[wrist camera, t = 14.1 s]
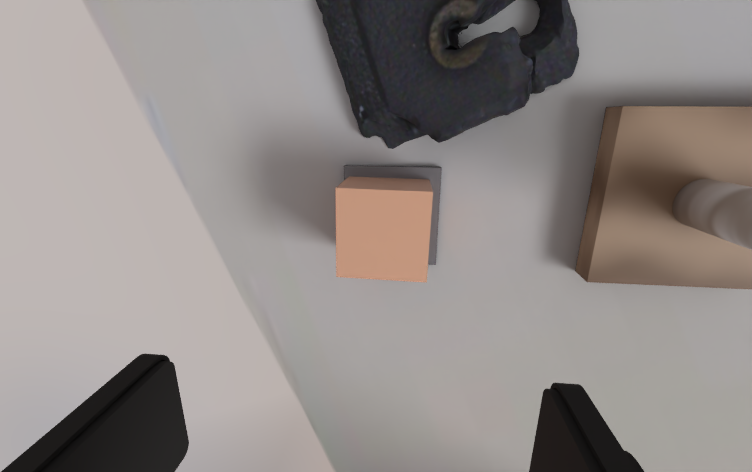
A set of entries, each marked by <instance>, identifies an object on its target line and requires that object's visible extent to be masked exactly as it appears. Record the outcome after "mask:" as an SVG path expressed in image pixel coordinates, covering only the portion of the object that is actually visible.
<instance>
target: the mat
mask: <svg viewBox="0 0 752 472" xmlns="http://www.w3.org/2000/svg"><path fill="white" fill-rule="evenodd" d="M441 170H442V168H441V167H399V166H344V180H345V179H347V178H348V177H349V176H350V177H377V178H404V179H429V180H430V183H431V187H432V190H433V201H432V214H431V228H430V242H429V256H428V264H429V265H436V251H437V235H438V219H439V203H440V186H441Z"/></svg>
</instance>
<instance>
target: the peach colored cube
mask: <svg viewBox="0 0 752 472" xmlns="http://www.w3.org/2000/svg"><path fill="white" fill-rule="evenodd" d="M432 201H433V190H432V187H431V183H430V180H429V179H404V178H377V177H350V176H349V177H348V178H347V179H345V180H344V181H343V182H342V183H341V184H340V185H338V186H337V187H336V277H347V278H364V279H380V280H396V281H413V282H427V270H428V256H429V242H430V228H431V214H432Z"/></svg>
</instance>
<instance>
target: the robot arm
mask: <svg viewBox="0 0 752 472" xmlns="http://www.w3.org/2000/svg"><path fill="white" fill-rule="evenodd" d="M188 444H189V441H188V436H187V430H186V425H185V419H184V414H183V409H182V403H181V398H180V393H179V387H178V382H177V377H176V371H175V366H174V364H173V363H172V362H170V360H169V358H168V357H167V356H165V355H154V354H142V355H140V356H138V357H137V358H136V359H134V360H133V361H132V362H131V363H130V364H128V365H127V366H126V367H125V368H124V369H122V370H121V371H120V372H119V373H118V374H117V375H115V376H114V377H113V378H112V379H111V380H110V381H108V382H107V383H106V384H105V385H104V386H102V387H101V388H100V389H99V390H98V391H96V392H95V393H94V394H93V395H92V396H90V397H89V398H88V399H87V400H86V401H84V402H83V403H82V404H81V405H80V406H79V407H77V408H76V409H75V410H74V411H73V412H71V413H70V414H69V415H68V416H67V417H66V418H64V419H63V420H62V421H61V422H60V423H58V424H57V425H56V426H55V427H54V428H52V429H51V430H50V431H49V432H48V433H46V434H45V435H44V436H43V437H42V438H41V439H39V440H38V441H37V442H36V443H35V444H33V445H32V446H31V447H30V448H29V449H28V450H26V451H25V452H24V453H23V454H22V455H20V456H19V457H18V458H17V459H16V460H14V461H13V462H12V463H11V464H10V465H9V466H8V467H6V468H5V469H4V470H3V471H2V472H175V470H176V468H177V467H178V466H179V464H180V463H181V461H182V460H183V459H184V457H185V455H186V453H187V450H188ZM529 472H644V471H643V469H642V468H641V466H640V465H639V463H638V462H637V461H636V459H635V458H634V457H633V456H632V455H631V454H630V453H628V452H627V451H624V450H623V449H622V447H621V446H620V444H619V442H618V441H617V439H616V438H615V436H614V435H613V433H612V432H611V430H610V429H609V427H608V425H607V424H606V422H605V421H604V419H603V418H602V416H601V415H600V413H599V412H598V410H597V408H596V407H595V405H594V404H593V402H592V401H591V399H590V398H589V396H588V394H587V393H586V391H585V390H584V388H583V387H582V386H581V385H578V384H564V383H553V384H552V386H551V389H545V390H544V392H543V397H542V402H541V408H540V414H539V419H538V425H537V430H536V436H535V442H534V447H533V453H532V459H531V464H530V470H529Z"/></svg>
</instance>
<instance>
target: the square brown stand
mask: <svg viewBox="0 0 752 472" xmlns="http://www.w3.org/2000/svg"><path fill="white" fill-rule="evenodd" d="M575 271H576V272H577V273H578V274H579V275H580V276H581V277H582V278H583V279H585V280H586V281H587V282H599V283H621V284H644V285H666V286H689V287H711V288H734V289H752V107H695V106H620V107H607V108H606V112H605V117H604V123H603V128H602V133H601V138H600V144H599V149H598V154H597V159H596V165H595V170H594V175H593V181H592V186H591V191H590V196H589V202H588V207H587V212H586V217H585V223H584V228H583V233H582V239H581V244H580V249H579V254H578V260H577V265H576V270H575Z"/></svg>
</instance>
